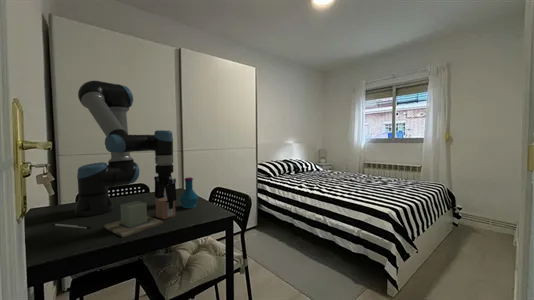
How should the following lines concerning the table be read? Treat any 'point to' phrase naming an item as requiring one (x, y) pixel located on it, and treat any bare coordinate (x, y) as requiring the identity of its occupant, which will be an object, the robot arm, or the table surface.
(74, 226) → the pen
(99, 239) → the table surface
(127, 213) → the sage block
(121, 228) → the beige flat square slab
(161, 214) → the terracotta block
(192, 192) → the teal vase
